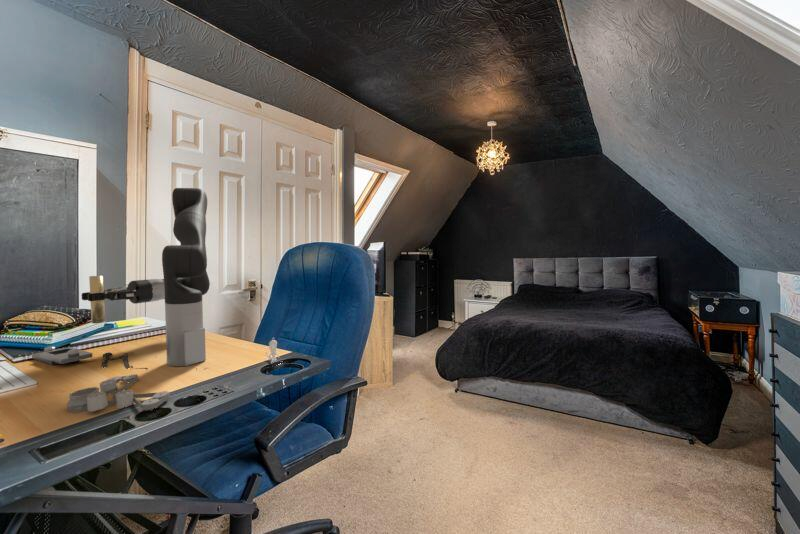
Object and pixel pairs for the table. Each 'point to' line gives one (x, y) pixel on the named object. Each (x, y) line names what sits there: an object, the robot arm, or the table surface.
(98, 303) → the pin
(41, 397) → the table surface
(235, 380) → the table surface
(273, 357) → the toy figurine
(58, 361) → the grey base plate
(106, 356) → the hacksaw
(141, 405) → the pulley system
